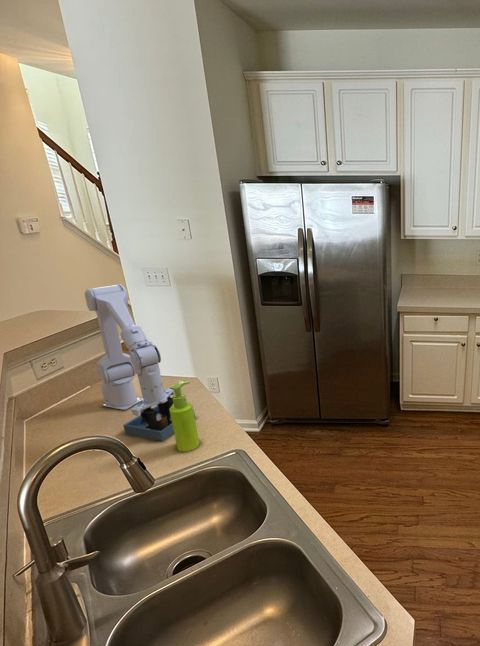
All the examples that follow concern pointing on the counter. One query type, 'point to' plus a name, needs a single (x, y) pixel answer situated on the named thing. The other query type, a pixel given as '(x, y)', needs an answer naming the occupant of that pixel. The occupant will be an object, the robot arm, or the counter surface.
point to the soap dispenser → (183, 420)
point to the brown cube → (161, 421)
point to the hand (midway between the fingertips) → (160, 424)
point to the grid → (148, 428)
